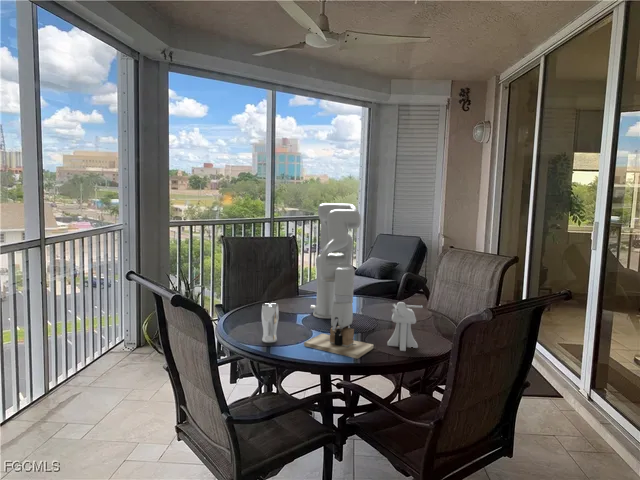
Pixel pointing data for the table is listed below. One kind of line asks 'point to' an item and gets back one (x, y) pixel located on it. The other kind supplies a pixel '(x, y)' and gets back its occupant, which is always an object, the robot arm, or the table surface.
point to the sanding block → (344, 336)
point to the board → (352, 351)
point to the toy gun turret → (403, 326)
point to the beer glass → (269, 322)
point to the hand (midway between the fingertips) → (341, 342)
